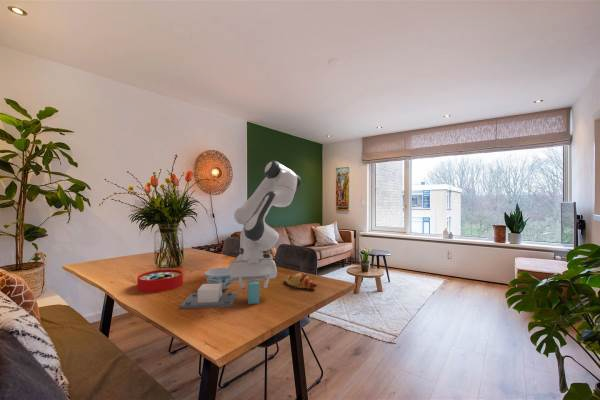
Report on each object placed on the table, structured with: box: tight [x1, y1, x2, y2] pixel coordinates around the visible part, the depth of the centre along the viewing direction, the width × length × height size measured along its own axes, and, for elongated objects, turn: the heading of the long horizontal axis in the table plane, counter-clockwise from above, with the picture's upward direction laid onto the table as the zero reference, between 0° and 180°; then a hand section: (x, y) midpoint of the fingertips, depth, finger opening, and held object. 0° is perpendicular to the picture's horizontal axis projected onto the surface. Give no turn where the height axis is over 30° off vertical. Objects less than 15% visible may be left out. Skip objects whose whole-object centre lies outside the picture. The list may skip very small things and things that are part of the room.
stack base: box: [179, 283, 238, 310], centre depth 112 cm, size 13×20×6 cm, turn 96°
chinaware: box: [204, 267, 234, 290], centre depth 131 cm, size 15×15×8 cm
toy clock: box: [136, 268, 184, 294], centre depth 133 cm, size 20×6×20 cm
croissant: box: [284, 272, 318, 290], centre depth 134 cm, size 21×10×8 cm, turn 48°
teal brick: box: [247, 280, 260, 305], centre depth 112 cm, size 4×4×8 cm
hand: (254, 287), depth 113 cm, fingers open, 8 cm apart
